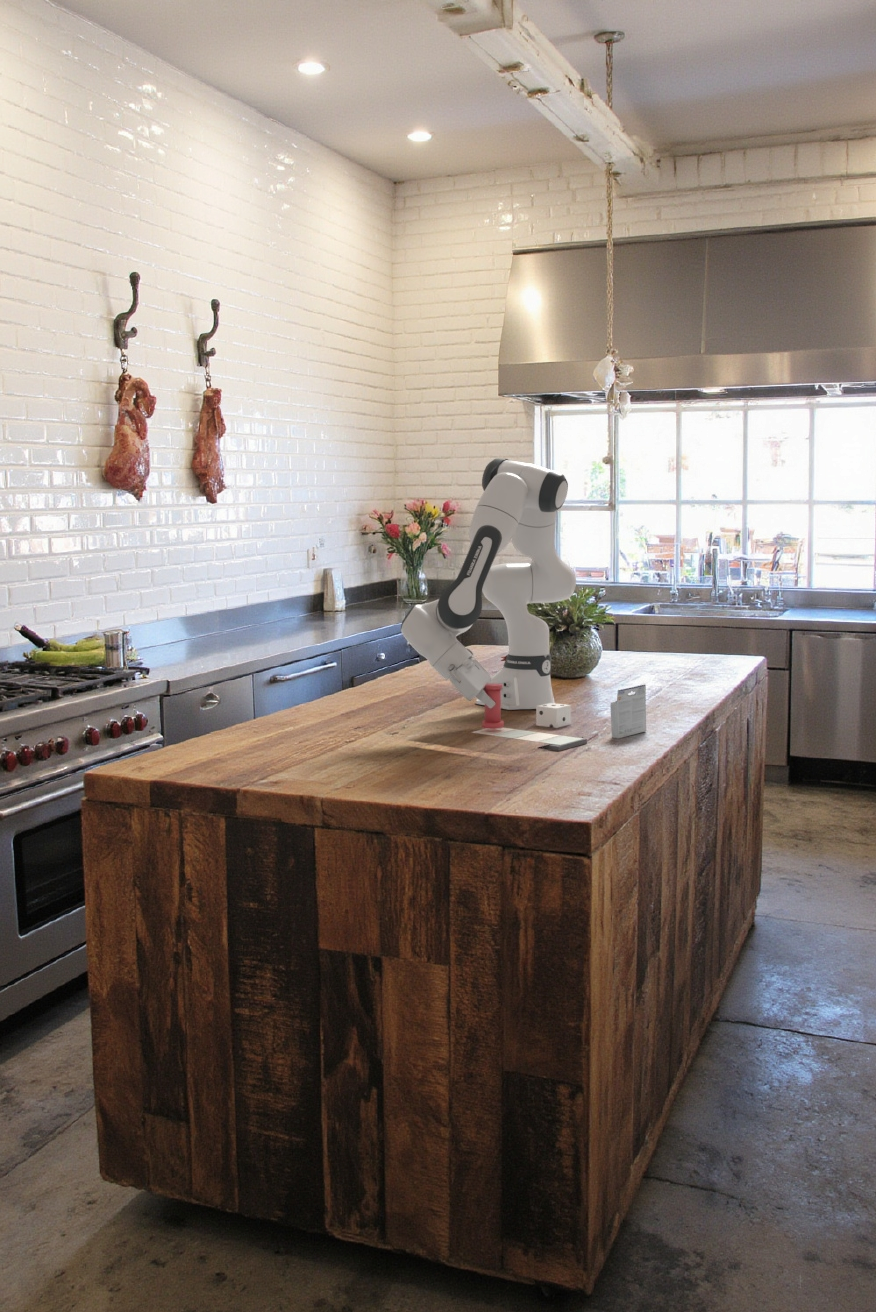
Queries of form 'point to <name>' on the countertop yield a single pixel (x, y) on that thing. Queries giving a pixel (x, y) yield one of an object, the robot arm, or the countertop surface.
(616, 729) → the ink box
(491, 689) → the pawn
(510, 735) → the game board
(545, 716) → the die
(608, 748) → the countertop surface
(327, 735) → the countertop surface
